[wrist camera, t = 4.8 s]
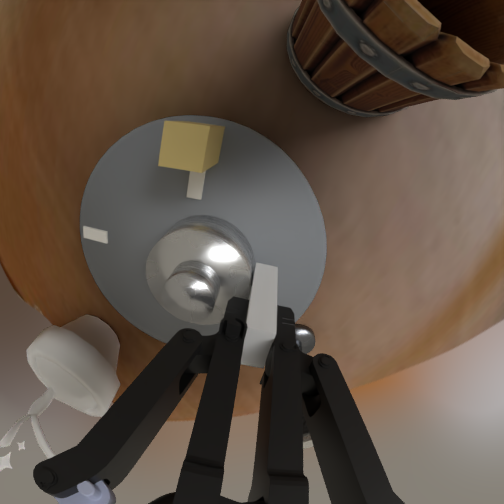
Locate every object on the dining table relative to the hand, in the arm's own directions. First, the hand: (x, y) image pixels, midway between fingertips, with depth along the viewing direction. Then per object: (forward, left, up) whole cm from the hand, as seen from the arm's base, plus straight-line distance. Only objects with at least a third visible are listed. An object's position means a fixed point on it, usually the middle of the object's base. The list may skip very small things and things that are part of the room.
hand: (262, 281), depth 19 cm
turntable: (0, -6, -3) cm, 6 cm away
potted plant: (+17, -18, -5) cm, 25 cm away
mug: (-20, +4, -5) cm, 21 cm away
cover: (0, -4, -1) cm, 4 cm away
